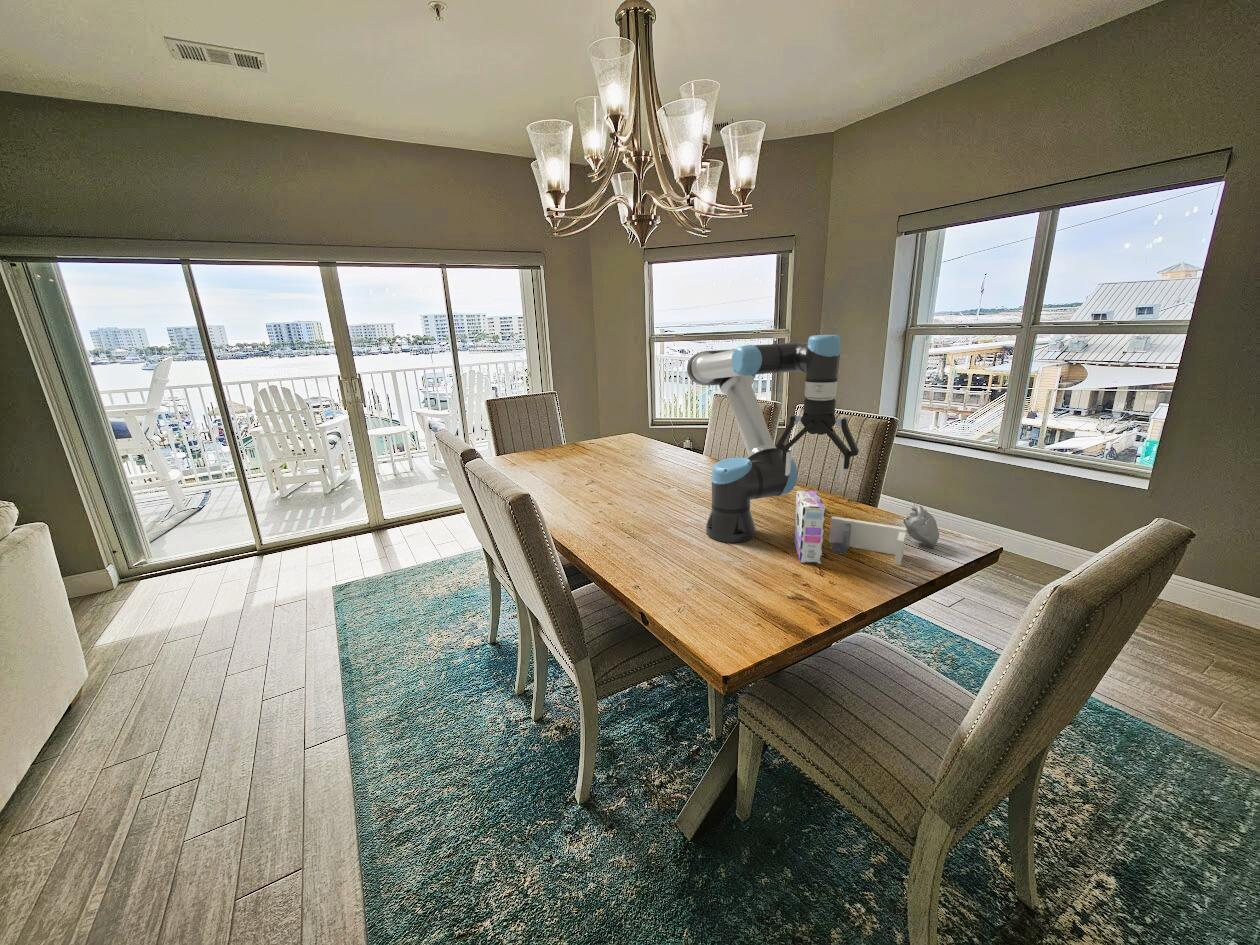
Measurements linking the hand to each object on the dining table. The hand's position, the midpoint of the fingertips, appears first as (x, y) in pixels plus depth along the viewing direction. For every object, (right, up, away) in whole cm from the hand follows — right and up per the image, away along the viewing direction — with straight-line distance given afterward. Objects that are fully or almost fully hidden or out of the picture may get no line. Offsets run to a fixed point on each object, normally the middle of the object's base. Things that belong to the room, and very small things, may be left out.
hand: (813, 477), depth 128 cm
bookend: (+11, -21, +8) cm, 25 cm away
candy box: (+1, -22, +7) cm, 23 cm away
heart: (+34, -20, +8) cm, 40 cm away
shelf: (+16, -21, +6) cm, 27 cm away
